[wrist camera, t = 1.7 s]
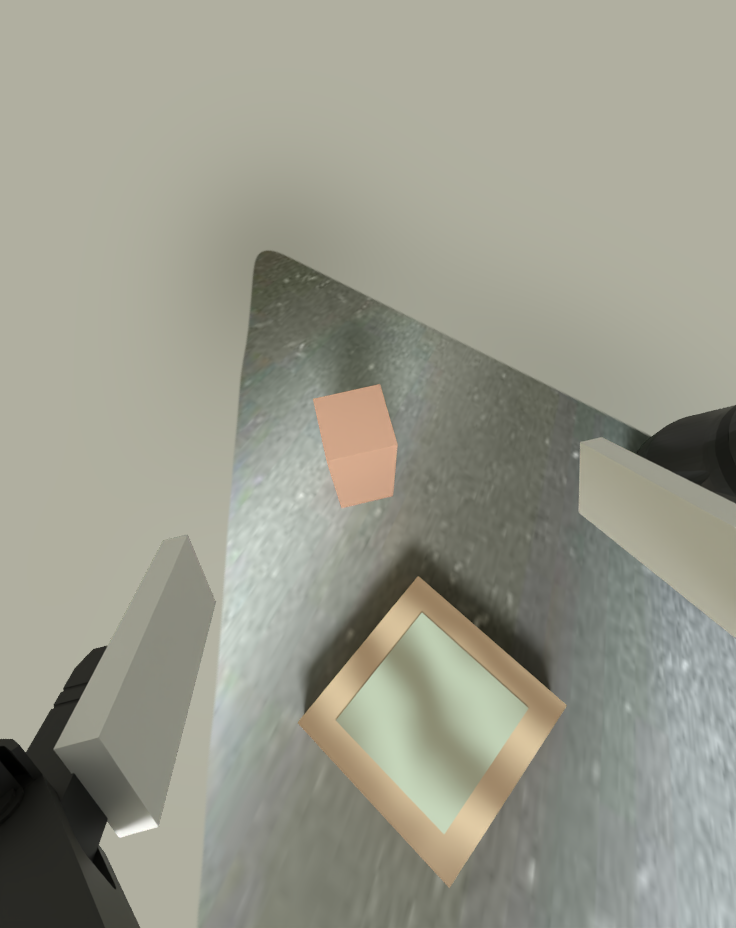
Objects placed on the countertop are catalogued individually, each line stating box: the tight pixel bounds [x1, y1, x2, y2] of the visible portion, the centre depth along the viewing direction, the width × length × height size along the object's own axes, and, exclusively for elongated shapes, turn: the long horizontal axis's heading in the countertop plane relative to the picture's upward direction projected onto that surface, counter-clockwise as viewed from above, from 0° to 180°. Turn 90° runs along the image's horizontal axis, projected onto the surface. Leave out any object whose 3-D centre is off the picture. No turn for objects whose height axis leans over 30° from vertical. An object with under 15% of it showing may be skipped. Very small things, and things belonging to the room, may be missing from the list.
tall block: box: [313, 384, 397, 508], centre depth 36 cm, size 5×5×12 cm
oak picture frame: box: [298, 576, 567, 888], centre depth 33 cm, size 14×14×3 cm
